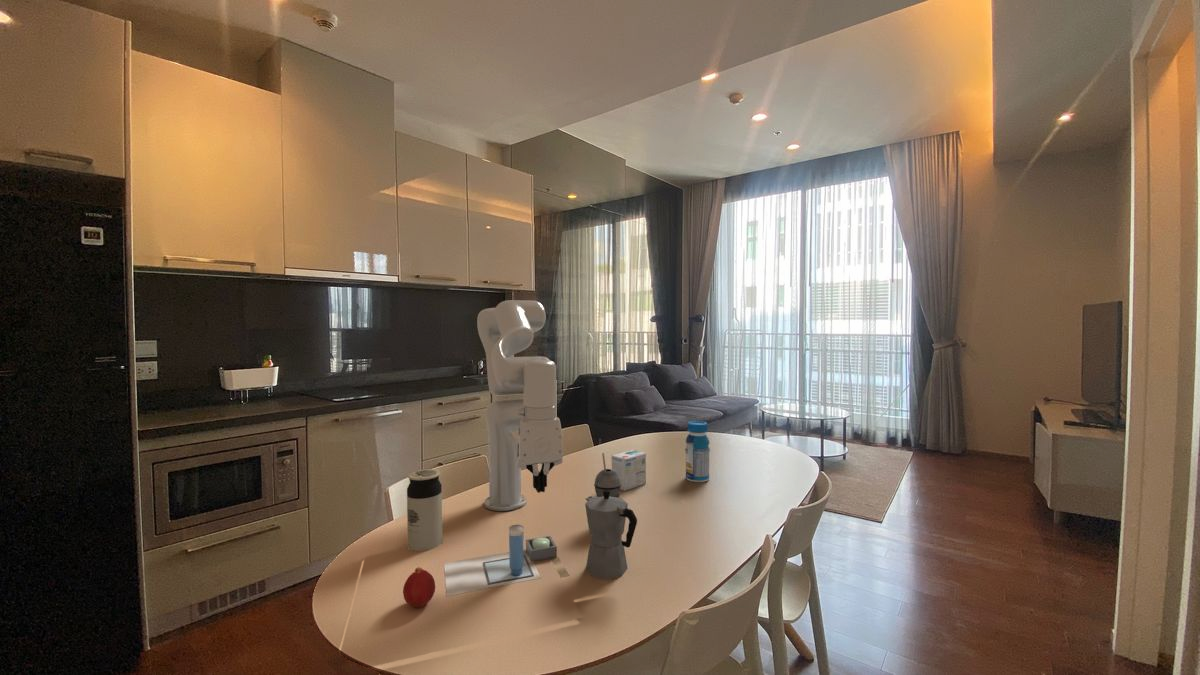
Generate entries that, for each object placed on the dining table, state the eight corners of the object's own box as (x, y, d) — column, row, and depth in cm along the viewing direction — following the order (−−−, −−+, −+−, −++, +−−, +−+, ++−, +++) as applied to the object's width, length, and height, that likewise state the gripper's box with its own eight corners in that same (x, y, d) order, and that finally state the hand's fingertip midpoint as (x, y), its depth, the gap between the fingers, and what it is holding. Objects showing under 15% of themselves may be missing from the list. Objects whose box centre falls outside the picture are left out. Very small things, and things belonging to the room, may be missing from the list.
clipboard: (439, 564, 107) (439, 561, 107) (550, 545, 116) (550, 542, 116) (441, 603, 92) (441, 598, 92) (569, 578, 101) (569, 574, 101)
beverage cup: (619, 534, 123) (618, 457, 122) (591, 531, 124) (591, 456, 124) (623, 522, 130) (623, 450, 129) (597, 520, 131) (596, 449, 131)
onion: (409, 599, 94) (408, 559, 93) (438, 598, 94) (438, 558, 94) (399, 617, 88) (398, 575, 88) (430, 616, 88) (430, 573, 88)
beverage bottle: (704, 484, 161) (704, 426, 160) (681, 480, 165) (681, 423, 165) (713, 477, 168) (713, 421, 167) (690, 473, 172) (690, 419, 172)
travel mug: (433, 535, 122) (432, 466, 122) (448, 546, 116) (447, 473, 116) (402, 546, 117) (401, 473, 116) (416, 557, 111) (415, 481, 111)
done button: (530, 549, 112) (530, 539, 112) (547, 546, 113) (547, 536, 113) (534, 556, 108) (534, 546, 108) (551, 553, 110) (551, 543, 110)
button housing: (525, 550, 113) (525, 539, 113) (550, 546, 115) (550, 535, 115) (531, 562, 107) (531, 550, 107) (556, 557, 109) (556, 546, 109)
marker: (508, 571, 103) (507, 525, 102) (522, 568, 104) (521, 523, 103) (510, 578, 100) (510, 531, 99) (525, 575, 101) (524, 529, 101)
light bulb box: (632, 479, 167) (632, 449, 166) (646, 484, 162) (646, 452, 162) (610, 486, 160) (610, 454, 159) (625, 491, 155) (624, 458, 154)
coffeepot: (571, 567, 106) (570, 487, 105) (601, 553, 112) (601, 478, 112) (620, 595, 95) (620, 506, 94) (651, 578, 101) (651, 494, 101)
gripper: (510, 418, 104) (510, 500, 105) (575, 413, 109) (575, 492, 110) (505, 412, 111) (505, 488, 112) (566, 408, 116) (566, 481, 117)
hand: (539, 490), depth 111 cm, fingers closed
